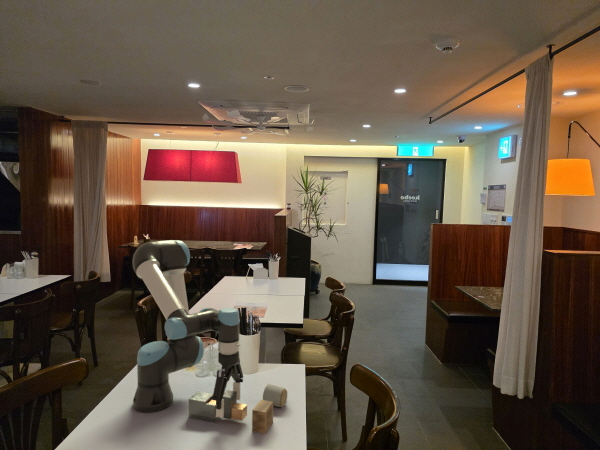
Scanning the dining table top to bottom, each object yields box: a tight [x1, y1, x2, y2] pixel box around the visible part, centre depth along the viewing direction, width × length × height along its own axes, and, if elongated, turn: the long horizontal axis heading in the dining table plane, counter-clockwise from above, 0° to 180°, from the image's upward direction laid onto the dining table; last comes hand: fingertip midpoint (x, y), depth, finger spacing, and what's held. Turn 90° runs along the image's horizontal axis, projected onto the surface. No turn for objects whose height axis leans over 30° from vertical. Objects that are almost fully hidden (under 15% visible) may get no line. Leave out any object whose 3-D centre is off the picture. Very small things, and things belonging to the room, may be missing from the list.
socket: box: [251, 399, 274, 434], centre depth 150 cm, size 5×8×8 cm, turn 163°
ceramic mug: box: [262, 383, 288, 408], centre depth 167 cm, size 11×8×8 cm
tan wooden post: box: [206, 389, 248, 421], centre depth 155 cm, size 20×5×8 cm, turn 73°
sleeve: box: [188, 391, 220, 423], centre depth 156 cm, size 11×6×7 cm, turn 73°
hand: (228, 407), depth 154 cm, fingers open, 13 cm apart
